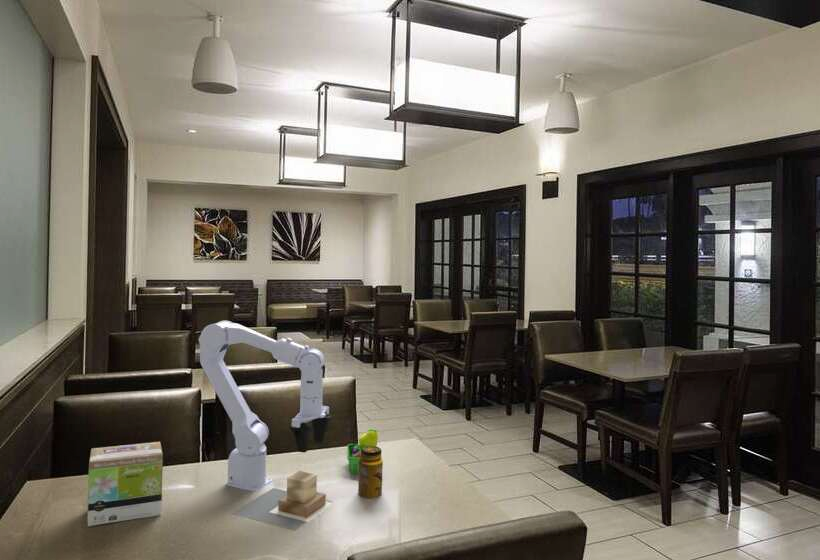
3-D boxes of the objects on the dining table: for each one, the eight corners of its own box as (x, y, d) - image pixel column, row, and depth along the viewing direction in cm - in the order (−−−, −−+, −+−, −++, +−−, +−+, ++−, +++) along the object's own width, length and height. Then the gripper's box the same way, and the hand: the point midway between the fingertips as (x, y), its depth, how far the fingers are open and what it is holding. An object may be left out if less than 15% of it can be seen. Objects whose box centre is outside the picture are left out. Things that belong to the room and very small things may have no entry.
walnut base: (278, 510, 132) (278, 500, 132) (298, 497, 139) (298, 487, 139) (306, 517, 128) (307, 507, 128) (325, 504, 136) (325, 494, 136)
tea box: (86, 529, 121) (87, 462, 121) (89, 510, 130) (89, 447, 130) (162, 516, 128) (163, 452, 128) (159, 498, 137) (160, 439, 137)
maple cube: (286, 498, 133) (287, 477, 132) (299, 490, 137) (299, 470, 137) (304, 503, 130) (304, 482, 130) (316, 495, 135) (316, 474, 135)
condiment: (388, 497, 142) (389, 450, 141) (358, 504, 137) (359, 456, 137) (374, 487, 148) (375, 442, 148) (345, 493, 143) (346, 447, 143)
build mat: (230, 514, 130) (230, 513, 130) (273, 489, 144) (273, 487, 144) (296, 532, 122) (296, 530, 122) (335, 503, 137) (335, 502, 137)
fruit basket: (346, 460, 166) (347, 423, 166) (376, 460, 167) (377, 423, 167) (346, 475, 155) (347, 435, 155) (378, 475, 156) (379, 435, 156)
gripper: (308, 404, 138) (307, 458, 138) (339, 391, 151) (338, 441, 152) (285, 400, 141) (284, 453, 141) (316, 388, 154) (316, 437, 155)
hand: (310, 447), depth 147 cm, fingers open, 7 cm apart
